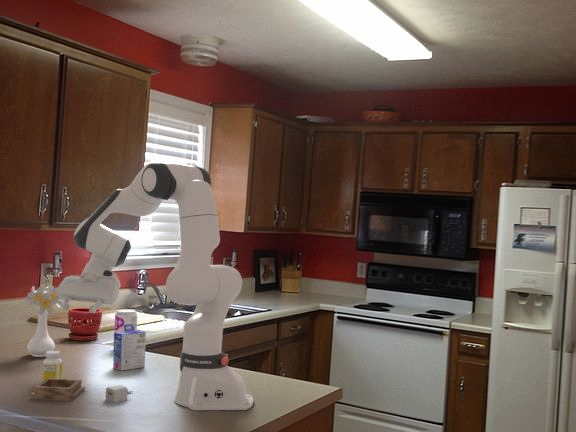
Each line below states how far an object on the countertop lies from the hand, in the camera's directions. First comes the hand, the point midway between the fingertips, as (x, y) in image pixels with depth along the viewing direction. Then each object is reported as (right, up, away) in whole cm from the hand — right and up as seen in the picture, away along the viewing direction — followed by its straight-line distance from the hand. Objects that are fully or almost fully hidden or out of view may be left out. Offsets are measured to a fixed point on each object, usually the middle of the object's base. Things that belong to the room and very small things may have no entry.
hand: (78, 310), depth 220 cm
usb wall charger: (+20, -22, -26) cm, 39 cm away
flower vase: (-20, -20, +25) cm, 37 cm away
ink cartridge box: (+13, -21, +14) cm, 29 cm away
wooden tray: (+2, -20, -24) cm, 32 cm away
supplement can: (+5, -21, +41) cm, 46 cm away
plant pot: (-16, -20, +59) cm, 64 cm away
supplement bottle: (-4, -21, -12) cm, 24 cm away
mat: (+2, -21, -24) cm, 32 cm away
